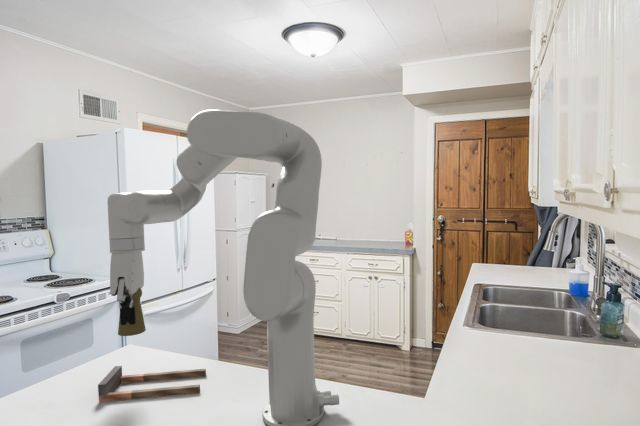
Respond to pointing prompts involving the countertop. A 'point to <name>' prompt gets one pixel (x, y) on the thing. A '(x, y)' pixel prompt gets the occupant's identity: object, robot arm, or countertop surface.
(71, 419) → the countertop surface
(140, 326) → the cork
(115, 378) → the guide channel
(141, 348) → the countertop surface
